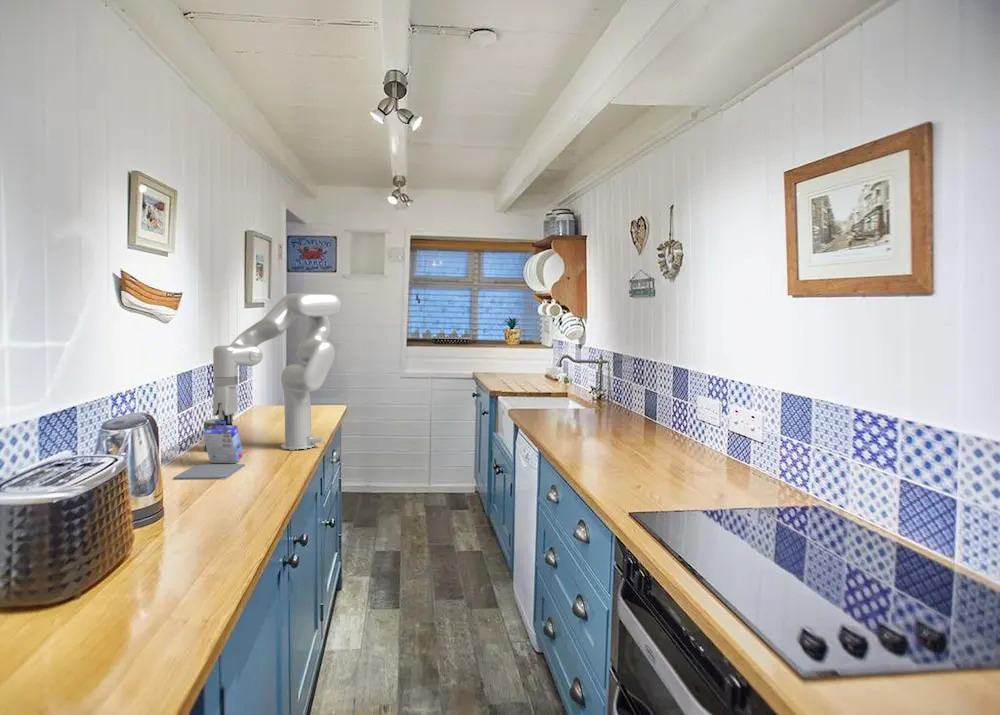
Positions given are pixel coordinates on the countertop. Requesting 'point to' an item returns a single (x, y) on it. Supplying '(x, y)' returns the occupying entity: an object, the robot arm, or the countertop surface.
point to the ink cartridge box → (223, 443)
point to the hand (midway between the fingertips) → (226, 434)
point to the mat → (209, 471)
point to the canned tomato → (208, 423)
